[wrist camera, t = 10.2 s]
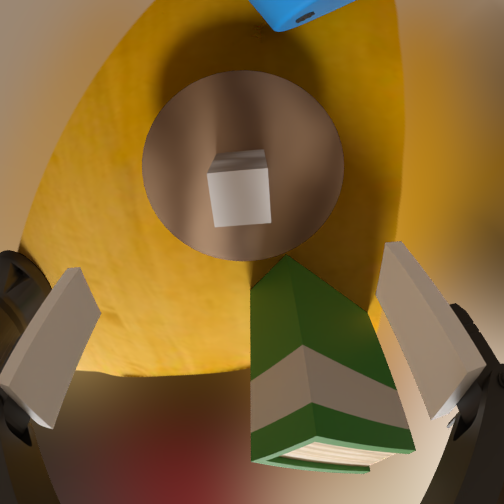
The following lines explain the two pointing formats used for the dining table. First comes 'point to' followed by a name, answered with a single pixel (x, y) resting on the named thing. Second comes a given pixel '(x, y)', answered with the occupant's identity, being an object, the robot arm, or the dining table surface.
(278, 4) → the alarm clock
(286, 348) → the hardback book
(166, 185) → the lid
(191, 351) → the dining table surface
